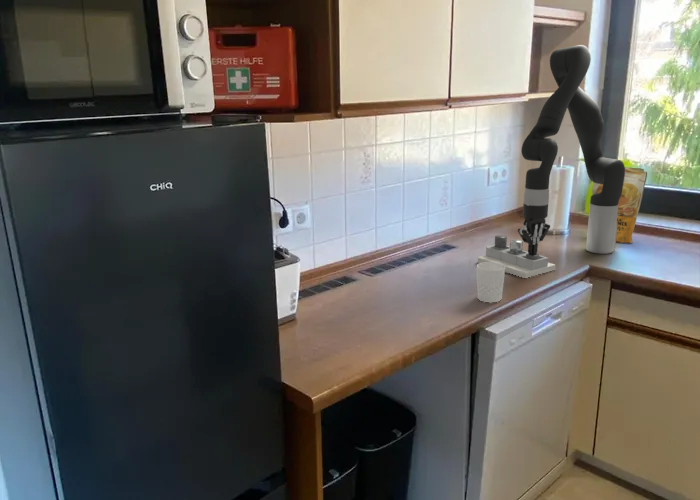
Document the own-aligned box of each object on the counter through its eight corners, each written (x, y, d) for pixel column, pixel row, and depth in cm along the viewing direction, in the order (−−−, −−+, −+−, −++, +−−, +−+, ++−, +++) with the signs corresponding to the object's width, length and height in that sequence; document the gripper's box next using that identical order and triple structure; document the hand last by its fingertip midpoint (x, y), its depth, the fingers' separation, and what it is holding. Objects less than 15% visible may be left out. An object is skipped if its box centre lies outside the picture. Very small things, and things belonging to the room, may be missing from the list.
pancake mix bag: (590, 233, 231) (597, 163, 223) (640, 241, 218) (648, 167, 210) (583, 236, 227) (589, 165, 219) (633, 245, 214) (641, 170, 206)
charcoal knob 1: (500, 244, 200) (500, 234, 199) (509, 246, 197) (509, 236, 196) (492, 246, 198) (492, 236, 197) (500, 248, 195) (501, 238, 194)
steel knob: (515, 248, 194) (516, 238, 193) (524, 251, 191) (525, 241, 190) (507, 250, 192) (507, 240, 191) (516, 253, 189) (517, 243, 188)
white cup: (498, 306, 160) (500, 272, 157) (471, 301, 164) (472, 268, 161) (507, 297, 166) (508, 264, 164) (480, 292, 170) (482, 260, 168)
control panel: (506, 255, 205) (507, 242, 204) (555, 270, 188) (556, 255, 187) (477, 262, 198) (478, 248, 197) (525, 278, 181) (526, 263, 180)
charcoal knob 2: (531, 262, 189) (532, 252, 188) (541, 265, 186) (541, 255, 185) (523, 264, 187) (523, 254, 186) (532, 267, 184) (533, 257, 183)
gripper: (540, 197, 187) (537, 248, 192) (512, 202, 181) (509, 255, 186) (559, 201, 181) (555, 254, 186) (530, 206, 175) (527, 261, 179)
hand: (532, 254), depth 186 cm, fingers closed
